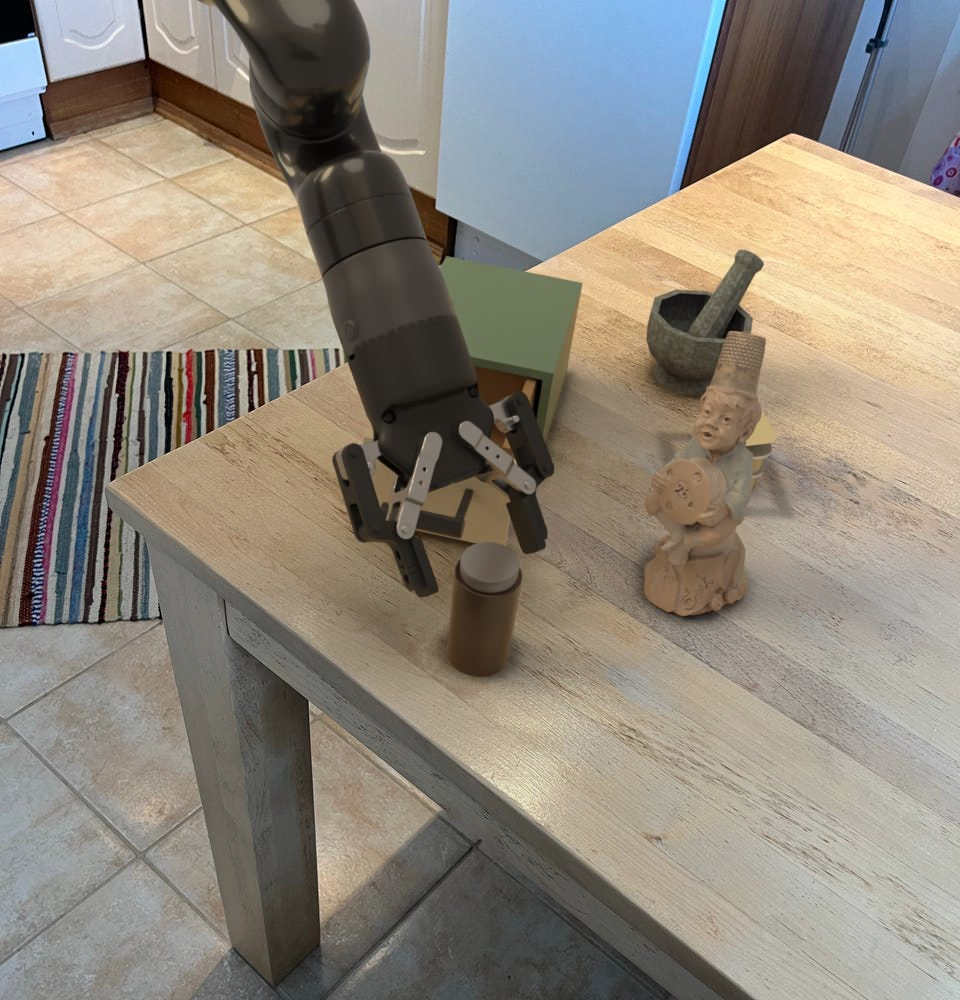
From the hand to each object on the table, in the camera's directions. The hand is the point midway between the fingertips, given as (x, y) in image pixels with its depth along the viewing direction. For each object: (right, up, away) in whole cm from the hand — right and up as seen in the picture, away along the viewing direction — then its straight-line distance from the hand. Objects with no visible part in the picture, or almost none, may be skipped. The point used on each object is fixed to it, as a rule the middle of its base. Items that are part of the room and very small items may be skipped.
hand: (483, 572), depth 65 cm
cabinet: (0, +17, +25) cm, 31 cm away
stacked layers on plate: (+21, +10, +22) cm, 32 cm away
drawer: (-3, +7, +15) cm, 17 cm away
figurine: (+16, 0, +12) cm, 20 cm away
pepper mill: (0, -5, +5) cm, 7 cm away
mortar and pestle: (+20, +21, +32) cm, 44 cm away
